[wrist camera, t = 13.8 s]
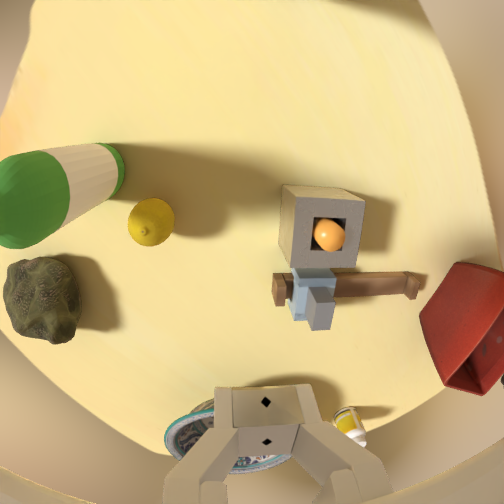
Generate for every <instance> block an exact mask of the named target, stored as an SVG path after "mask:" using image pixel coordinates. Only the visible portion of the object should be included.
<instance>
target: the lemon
mask: <svg viewBox="0 0 504 504" xmlns="http://www.w3.org/2000/svg"><path fill="white" fill-rule="evenodd" d="M174 222H175V217H174V213H173V211H172V209H171V207H170V206H169V205H168V204H167V203H166V202H165V201H163V200H161V199H158V198H149V199H145V200H143V201H141V202H139V203H138V204H137V205H136V206H135V207H134V208H133V210H132V211H131V213H130V216H129V218H128V230H129V233H130V235H131V237H132V238H133V240H135V241H136V242H137V243H139V244H140V245H143V246H155V245H159V244H160V243H162V242H164V241H165V240H166V239H167V238H168V237H169V236H170V234H171V233H172V231H173V228H174Z"/></svg>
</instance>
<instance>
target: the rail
mask: <svg viewBox="0 0 504 504" xmlns="http://www.w3.org/2000/svg"><path fill="white" fill-rule="evenodd" d="M333 274H334V275H335V277H336V278H337V279H336V285H335V290H334V296H333V297H354V296H374V295H391V294H403V293H404V294H405V295H406V296H407V297H408V298H409V299H410V300H413V299H416V296H417V293H418V289H419V286H420V283H421V282H420V281H418V280H417V279H416V278H415V277H414V276H413V275H412V274H410V273H409V272H363V273H333ZM293 282H294V276H293V274H292V273H283V276H282V273H273V282H272V295H273V298H274V302H275V305H276V306H285V299H292V291H293Z"/></svg>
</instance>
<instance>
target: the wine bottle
mask: <svg viewBox="0 0 504 504" xmlns="http://www.w3.org/2000/svg"><path fill="white" fill-rule="evenodd" d="M124 174H125V169H124V163H123V159H122V157H121V156H120V154H119V152H118V151H117V150H116V149H115V148H113V147H111V146H110V145H108V144H103V143H91V144H81V145H73V146H65V147H57V148H50V149H43V150H37V151H32V152H27V153H22V154H17V155H12V156H9V157H7V158H5V159H4V160H2V161H1V162H0V245H1V246H4V247H6V248H10V249H24V248H27V247H30V246H32V245H35V244H37V243H39V242H40V241H42V240H43V239H45V238H46V237H48V236H49V235H51V234H52V233H54V232H56V231H57V230H59V229H60V228H62V227H63V226H65V225H66V224H68V223H70V222H71V221H73V220H74V219H76V218H78V217H79V216H81V215H82V214H84V213H86V212H87V211H89V210H91V209H92V208H94V207H96V206H98V205H99V204H101V203H103V202H104V201H106V200H107V199H109V198H110V197H112V196H113V195H115V193H116V192H117V191H118V190H119V189H120V187H121V185H122V182H123V179H124Z"/></svg>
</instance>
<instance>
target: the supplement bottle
mask: <svg viewBox="0 0 504 504" xmlns="http://www.w3.org/2000/svg"><path fill="white" fill-rule="evenodd" d="M334 419H335V423H336V425H337V428H338V429H339V430H340V431H341V432H343V433H344V434H345V435H347V436H348V437H349V438H351V439H352V440H354V441H355V442H356V443H358V444H359V445H361V446H362V447H364V446H365V445H366V440H365V438H364V436H365V434H366V431H365V429H364V426H363V424H362V422H361V419H360V417H359V414H358V412H357V410H356V409H355V408H354V407H347V408H344V409H341V410H340V411H338V412H337V413H336V414H335V416H334Z"/></svg>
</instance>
